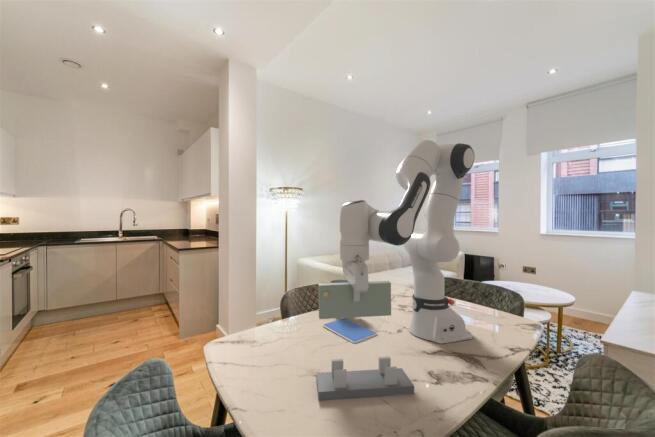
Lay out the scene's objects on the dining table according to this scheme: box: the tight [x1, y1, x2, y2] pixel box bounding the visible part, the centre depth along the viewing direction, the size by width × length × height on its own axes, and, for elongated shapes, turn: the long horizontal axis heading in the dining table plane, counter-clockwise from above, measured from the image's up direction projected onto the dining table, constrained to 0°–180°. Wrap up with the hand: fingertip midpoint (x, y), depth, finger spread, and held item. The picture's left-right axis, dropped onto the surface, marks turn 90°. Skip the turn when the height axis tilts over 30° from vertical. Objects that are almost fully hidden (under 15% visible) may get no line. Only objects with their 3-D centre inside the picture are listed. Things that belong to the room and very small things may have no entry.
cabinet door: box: [317, 280, 392, 320], centre depth 81 cm, size 22×4×10 cm, turn 96°
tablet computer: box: [322, 318, 378, 345], centre depth 105 cm, size 19×13×1 cm, turn 37°
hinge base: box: [315, 355, 415, 401], centre depth 70 cm, size 24×8×6 cm, turn 96°
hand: (354, 298), depth 82 cm, fingers closed on cabinet door, 2 cm apart
